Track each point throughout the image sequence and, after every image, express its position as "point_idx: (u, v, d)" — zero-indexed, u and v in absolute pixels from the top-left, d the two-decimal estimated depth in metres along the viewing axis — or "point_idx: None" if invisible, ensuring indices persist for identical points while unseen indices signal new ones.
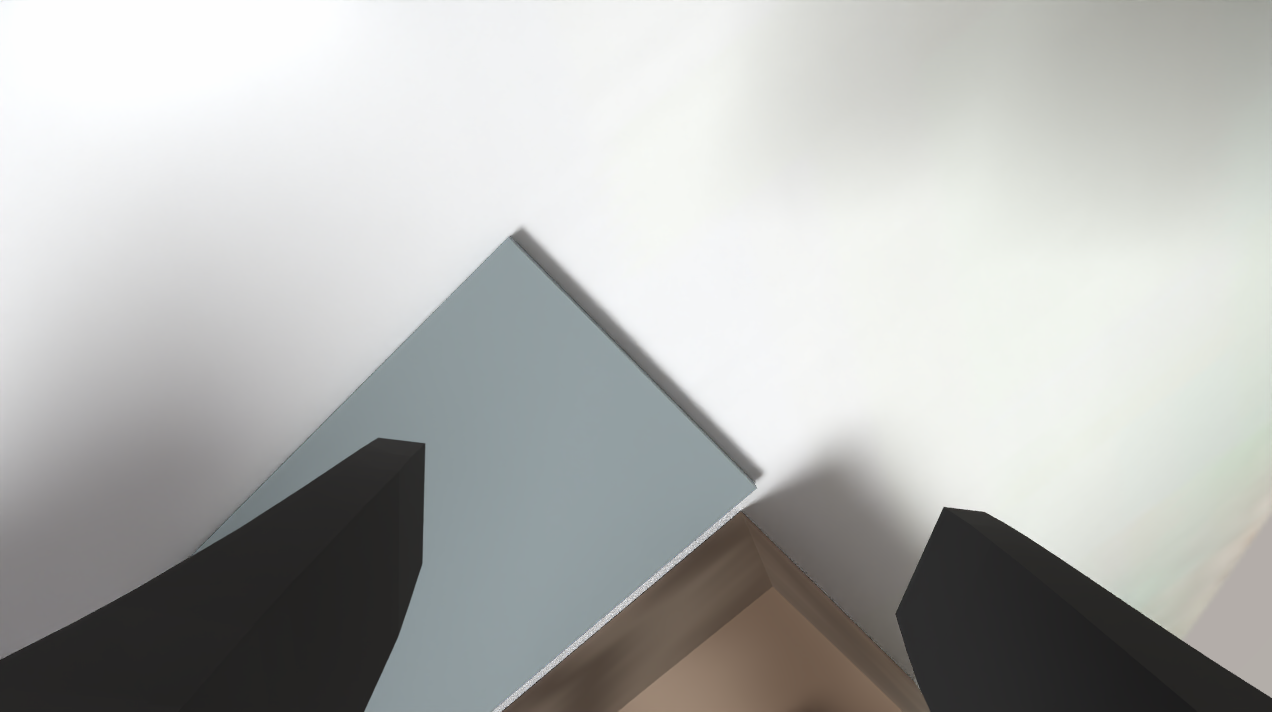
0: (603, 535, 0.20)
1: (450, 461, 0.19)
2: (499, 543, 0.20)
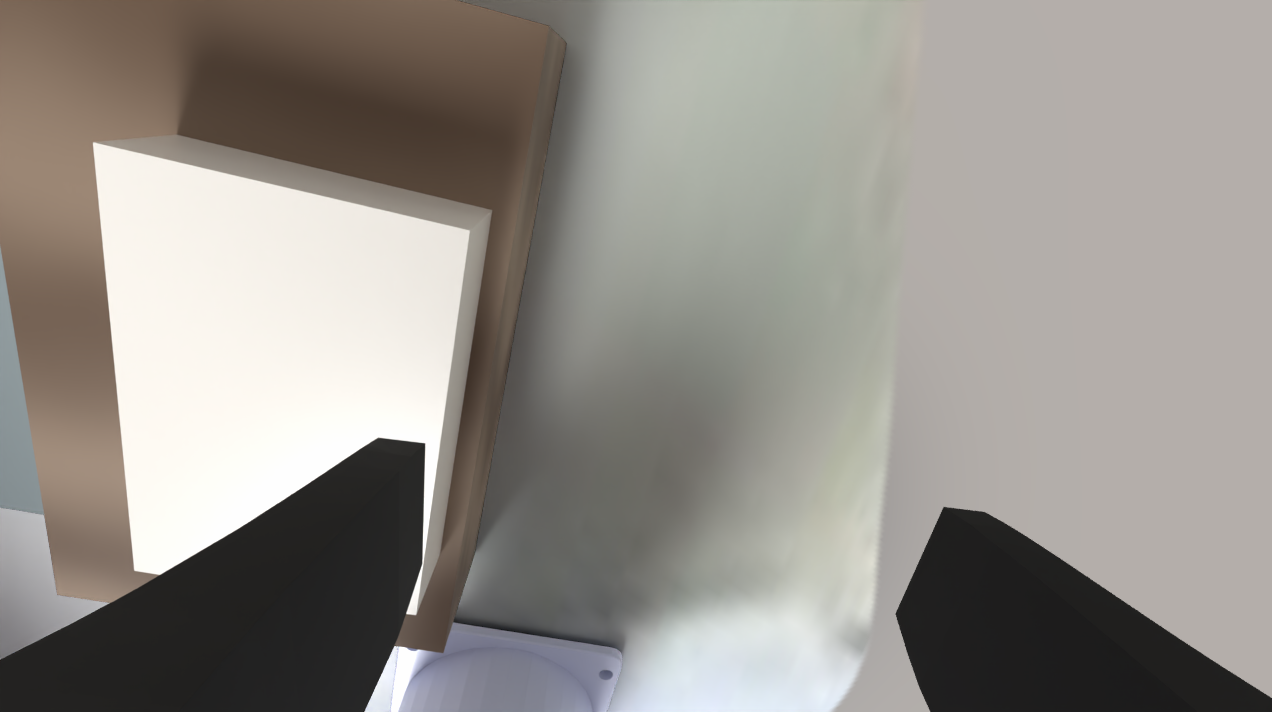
0: None
1: None
2: None
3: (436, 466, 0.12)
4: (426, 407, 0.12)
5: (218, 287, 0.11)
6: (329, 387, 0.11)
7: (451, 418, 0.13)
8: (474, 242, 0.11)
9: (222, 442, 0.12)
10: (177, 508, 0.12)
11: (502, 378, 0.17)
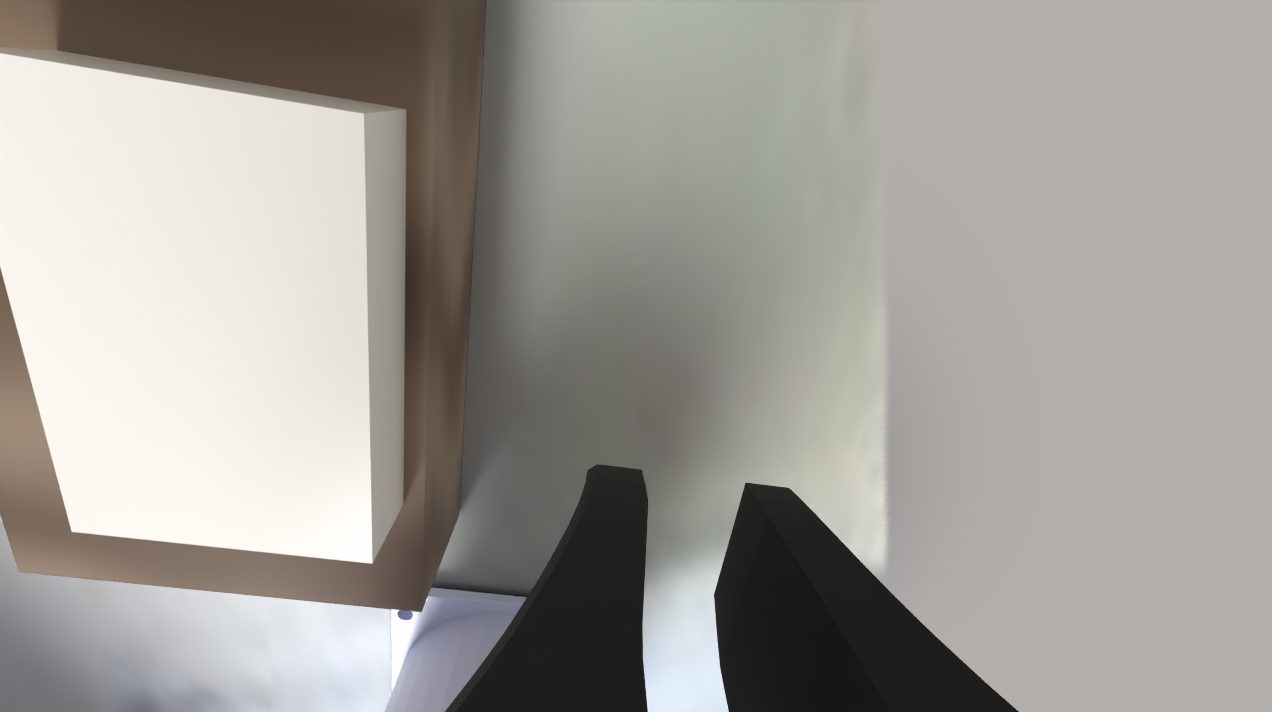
0: None
1: None
2: None
3: (368, 394, 0.11)
4: (347, 326, 0.11)
5: (102, 203, 0.10)
6: (240, 311, 0.11)
7: (385, 344, 0.12)
8: (377, 134, 0.10)
9: (138, 381, 0.11)
10: (103, 459, 0.12)
11: (460, 318, 0.16)
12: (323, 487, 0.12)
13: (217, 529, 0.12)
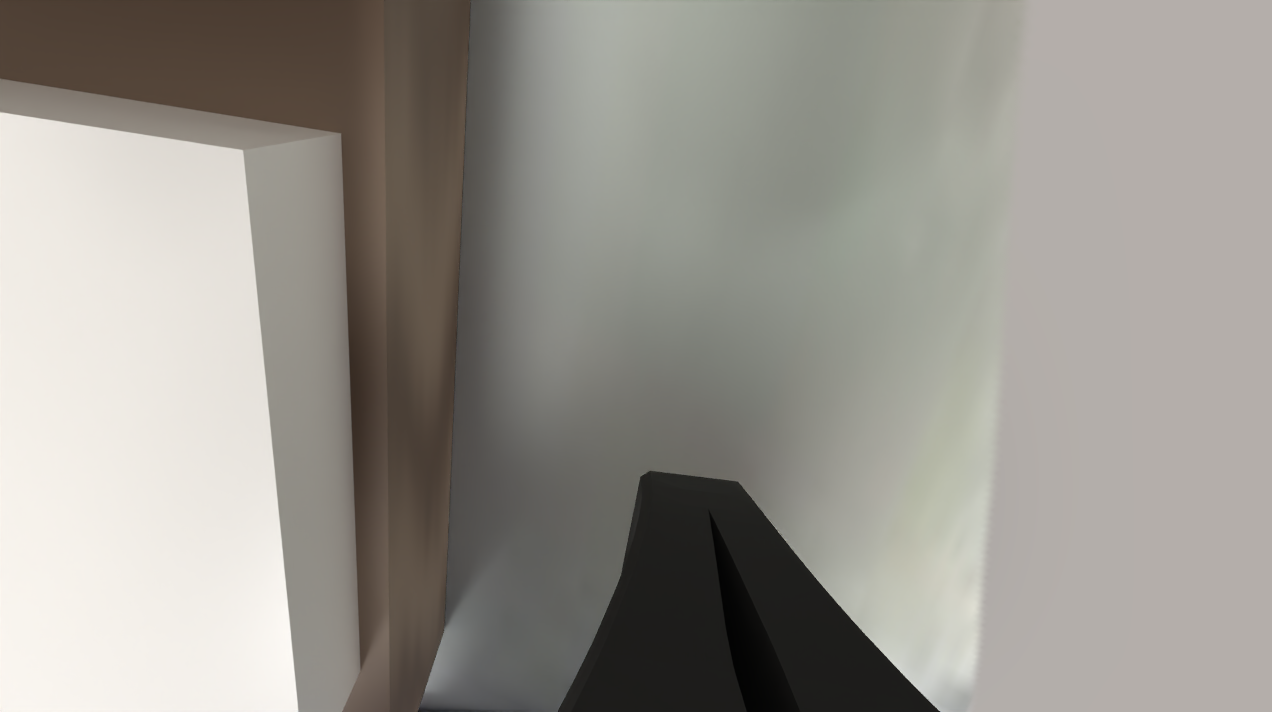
0: None
1: None
2: None
3: (284, 578, 0.07)
4: (243, 485, 0.07)
5: None
6: (67, 465, 0.06)
7: (316, 490, 0.08)
8: (279, 180, 0.06)
9: None
10: None
11: (440, 404, 0.12)
12: (226, 700, 0.08)
13: None
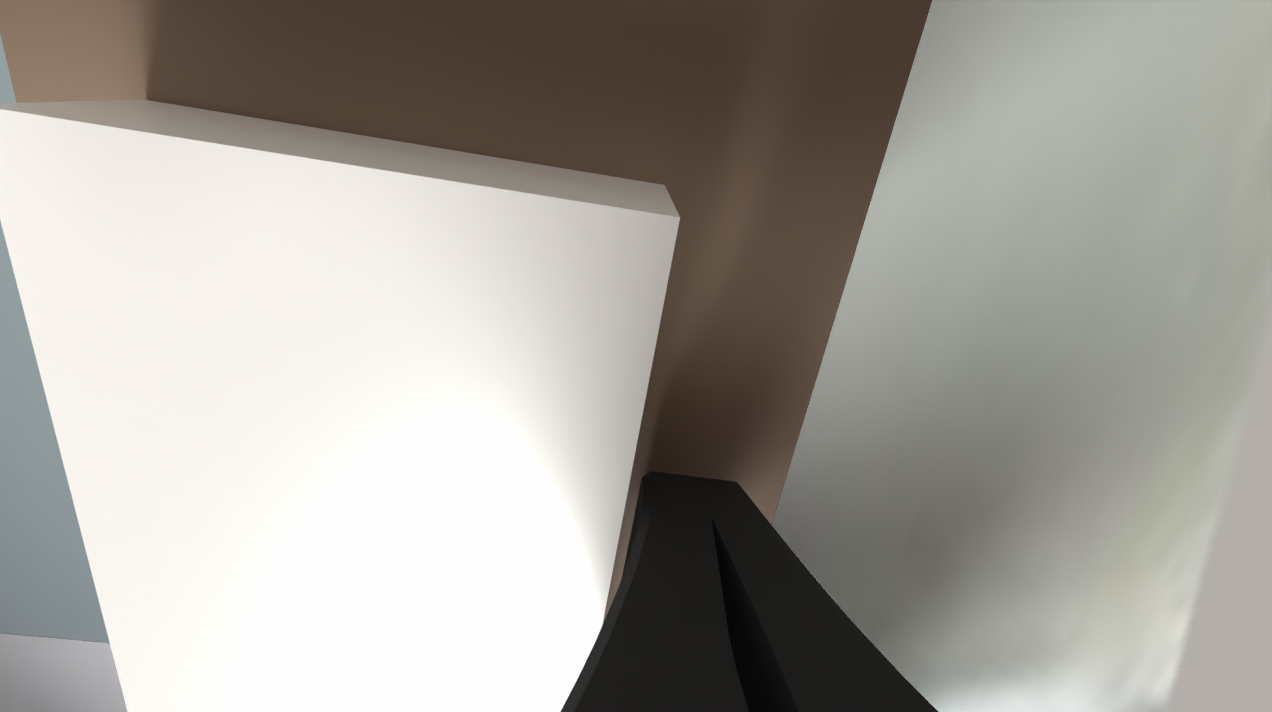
0: None
1: None
2: None
3: (604, 610, 0.08)
4: (590, 523, 0.07)
5: (231, 354, 0.06)
6: (430, 504, 0.07)
7: None
8: None
9: (260, 599, 0.07)
10: (200, 696, 0.08)
11: None
12: None
13: None
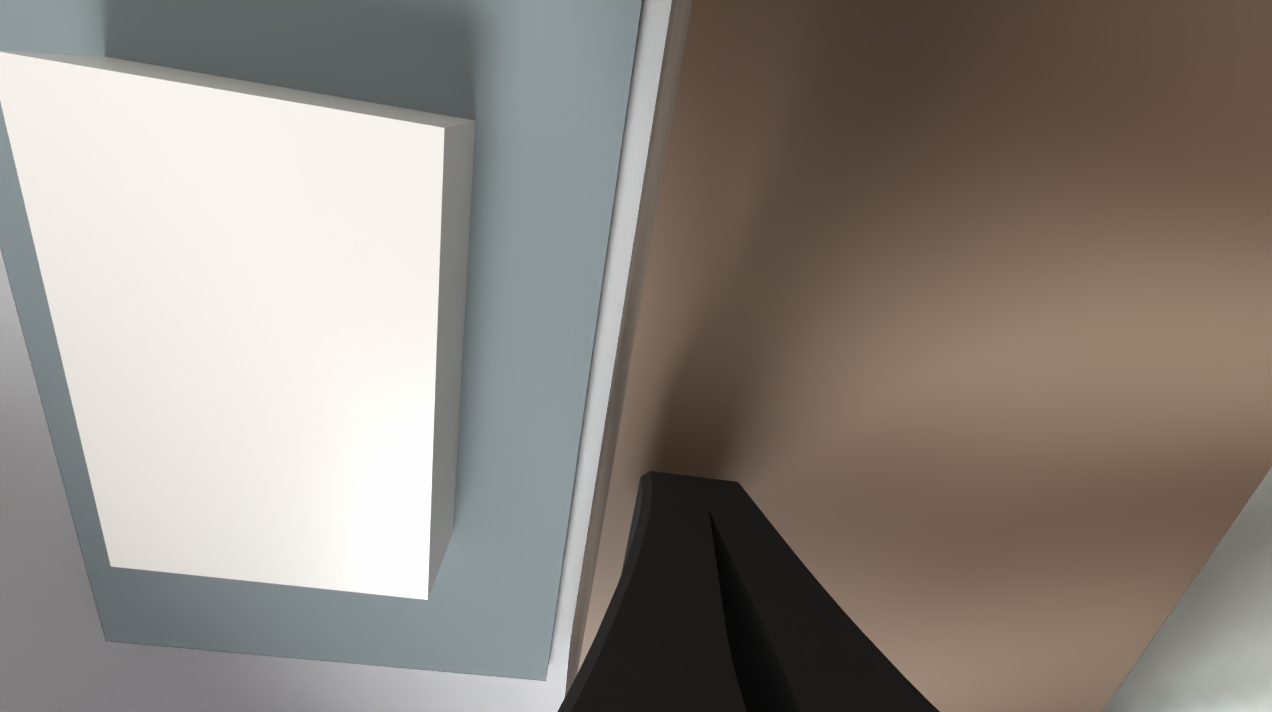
0: (490, 143, 0.11)
1: None
2: None
3: None
4: None
5: None
6: None
7: None
8: None
9: None
10: None
11: None
12: None
13: None
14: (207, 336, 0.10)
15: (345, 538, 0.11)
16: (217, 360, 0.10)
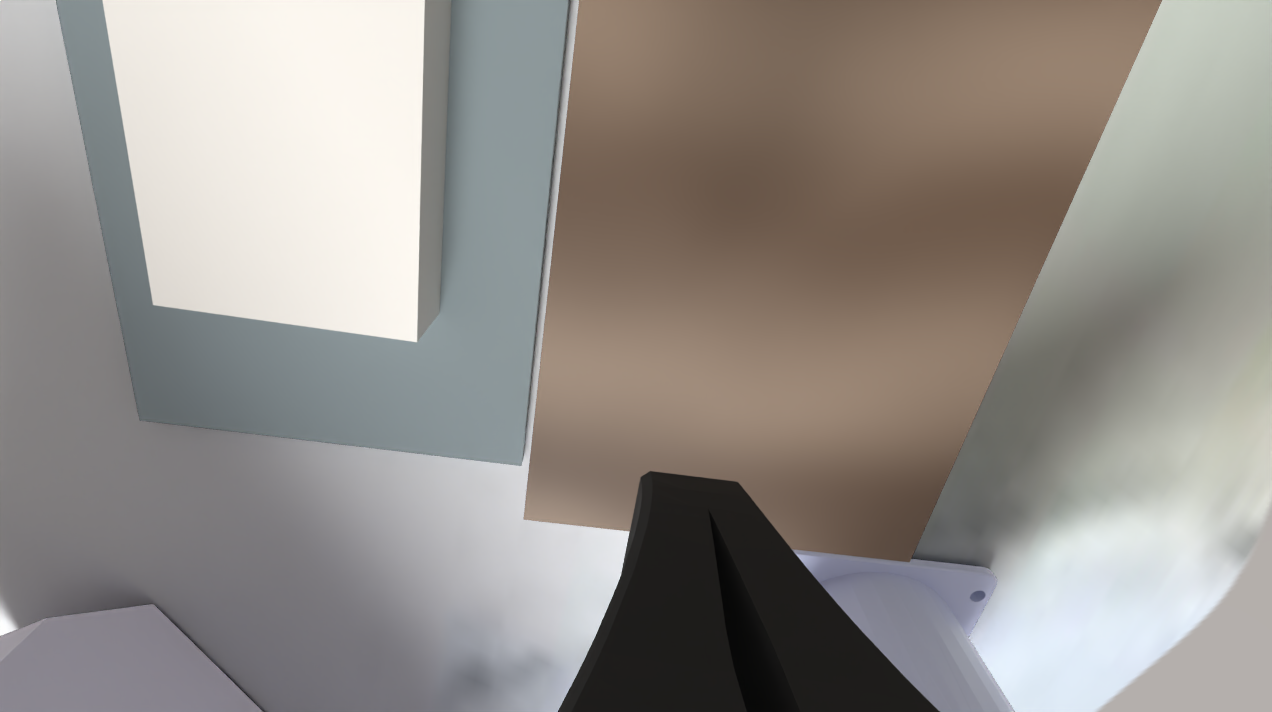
0: None
1: None
2: None
3: None
4: None
5: None
6: None
7: None
8: None
9: None
10: None
11: None
12: None
13: None
14: (237, 80, 0.12)
15: (349, 279, 0.14)
16: (244, 103, 0.12)
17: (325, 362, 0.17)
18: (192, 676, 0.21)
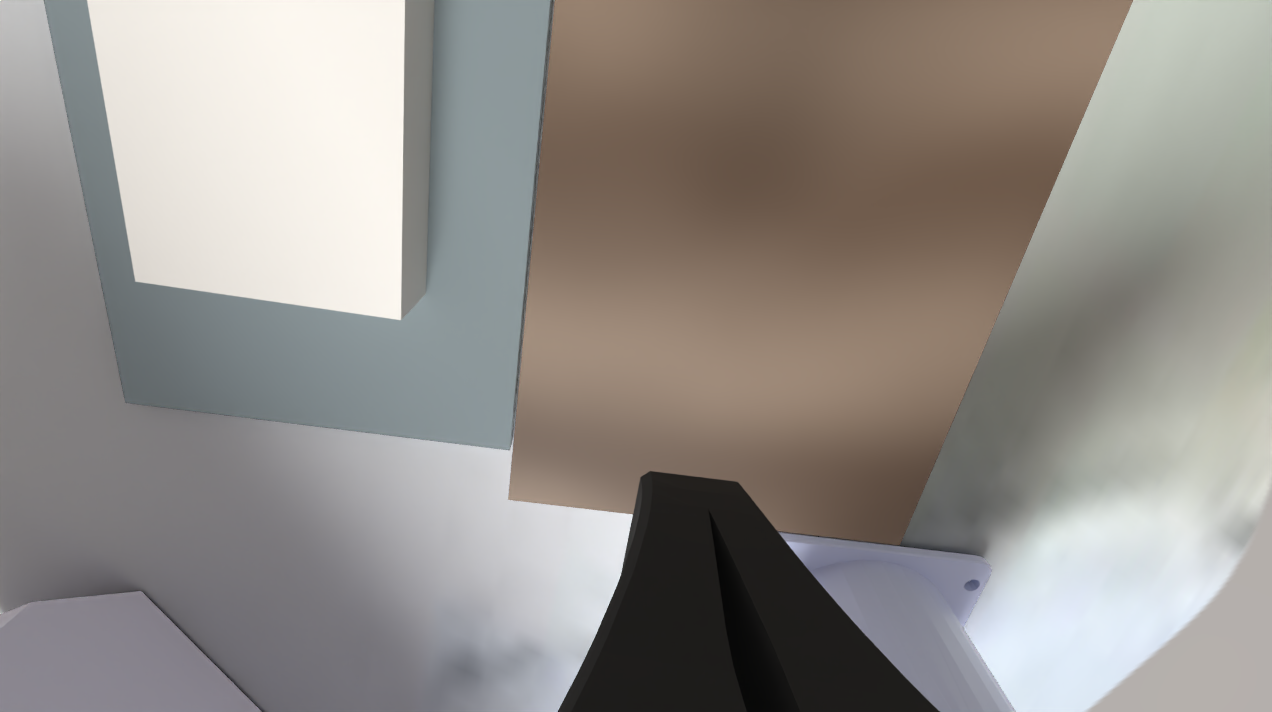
0: None
1: None
2: None
3: None
4: None
5: None
6: None
7: None
8: None
9: None
10: None
11: None
12: None
13: None
14: (217, 52, 0.12)
15: (332, 255, 0.14)
16: (225, 75, 0.12)
17: (311, 343, 0.17)
18: (179, 664, 0.21)
